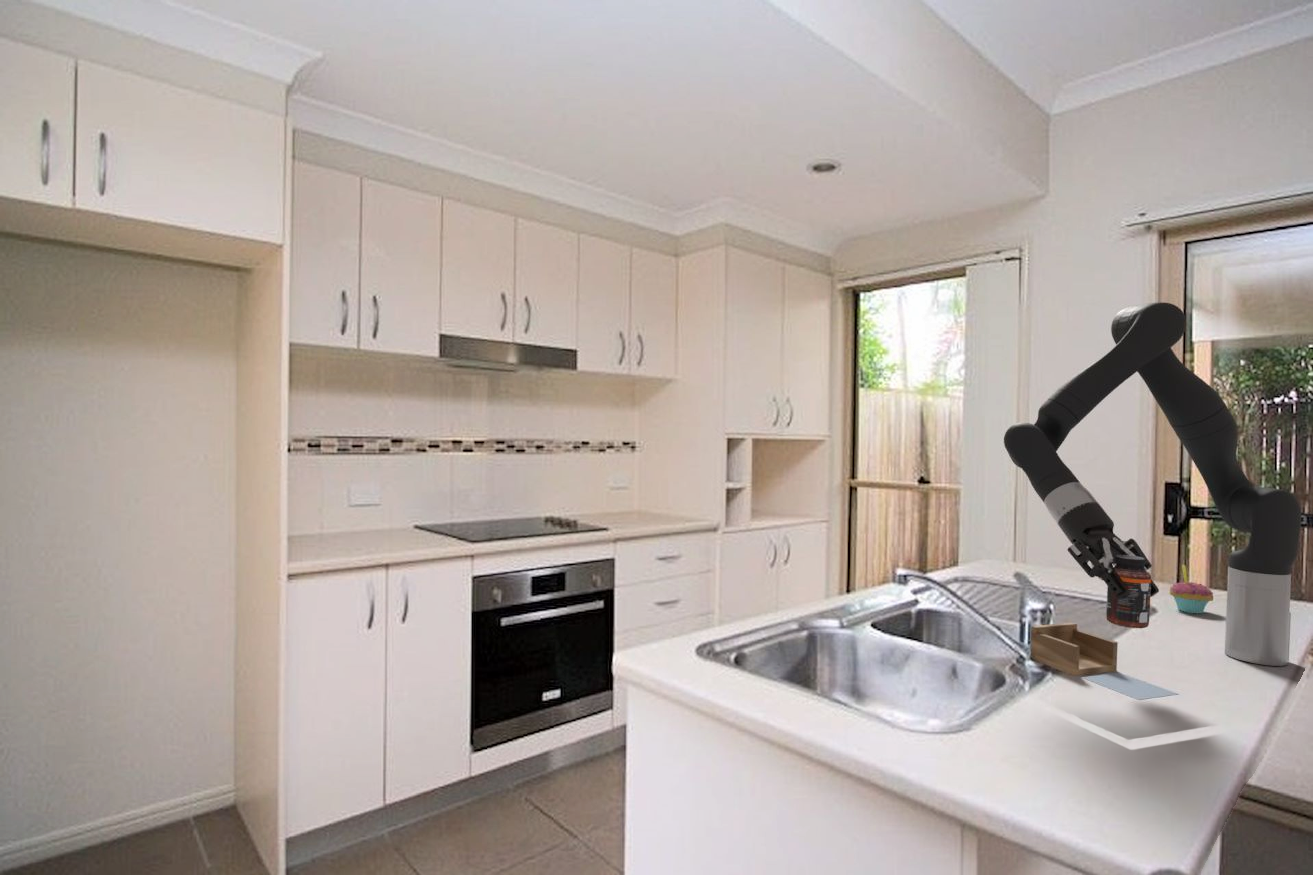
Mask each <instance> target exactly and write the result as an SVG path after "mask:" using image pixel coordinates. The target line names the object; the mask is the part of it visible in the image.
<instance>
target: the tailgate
mask: <svg viewBox="0 0 1313 875" xmlns="http://www.w3.org/2000/svg"><path fill="white" fill-rule="evenodd" d="M1080 678H1082V679H1084V680H1086V681H1089V682H1091V683H1095V684H1097V685H1099V686H1102V687H1105V688H1107V689H1110V690H1112V691H1115V692H1117V693H1120V694H1123V695H1124V696H1125V695H1126V696H1127V697H1130V698H1133V699H1135V700H1138V701H1142V700H1148V699H1155V698H1162V697H1171V696H1176V695H1178V693H1177V692H1175V691H1172V690H1169V689H1166V688H1163V687H1160V686H1157V685H1155V684H1152V683H1150V682H1146V681H1144V680H1141V679H1138V678H1135V677H1133V676H1130V675H1127V674H1124V673H1122V672H1112V673H1105V674H1103V673H1102V674H1097V675H1095V674H1094V675H1090V676H1088V675H1087V676H1081V677H1080Z"/></svg>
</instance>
